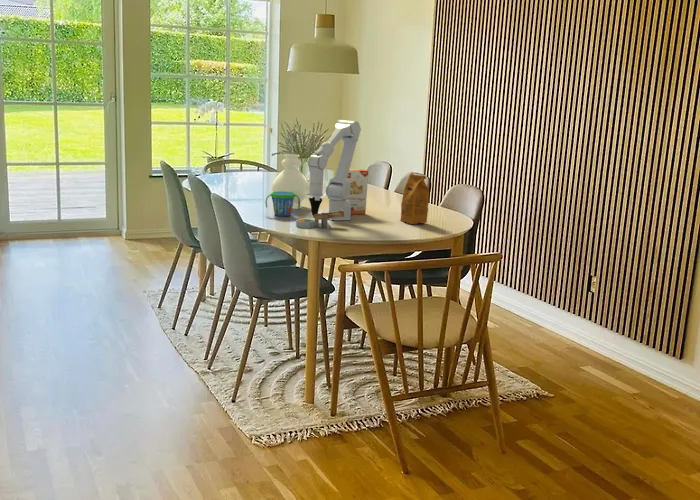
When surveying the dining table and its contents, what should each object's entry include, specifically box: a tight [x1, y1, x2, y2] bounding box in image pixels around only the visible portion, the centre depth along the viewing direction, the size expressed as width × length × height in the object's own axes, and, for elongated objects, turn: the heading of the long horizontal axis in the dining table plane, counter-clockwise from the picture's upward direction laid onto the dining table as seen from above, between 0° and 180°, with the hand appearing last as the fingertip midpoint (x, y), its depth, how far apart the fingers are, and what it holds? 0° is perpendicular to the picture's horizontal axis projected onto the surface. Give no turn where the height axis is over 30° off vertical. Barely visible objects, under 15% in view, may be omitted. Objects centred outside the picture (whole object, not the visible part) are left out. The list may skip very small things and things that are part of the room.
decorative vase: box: [271, 153, 310, 210], centre depth 359 cm, size 18×18×25 cm
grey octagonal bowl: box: [295, 218, 315, 229], centre depth 316 cm, size 7×7×2 cm
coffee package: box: [400, 172, 430, 225], centre depth 334 cm, size 10×12×22 cm
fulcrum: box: [313, 216, 332, 229], centre depth 317 cm, size 7×9×5 cm
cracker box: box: [347, 168, 369, 216], centre depth 349 cm, size 14×6×21 cm, turn 105°
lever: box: [311, 209, 344, 221], centre depth 319 cm, size 12×12×3 cm
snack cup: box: [264, 191, 301, 217], centre depth 337 cm, size 16×10×10 cm
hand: (314, 214), depth 322 cm, fingers closed, pressing on lever
